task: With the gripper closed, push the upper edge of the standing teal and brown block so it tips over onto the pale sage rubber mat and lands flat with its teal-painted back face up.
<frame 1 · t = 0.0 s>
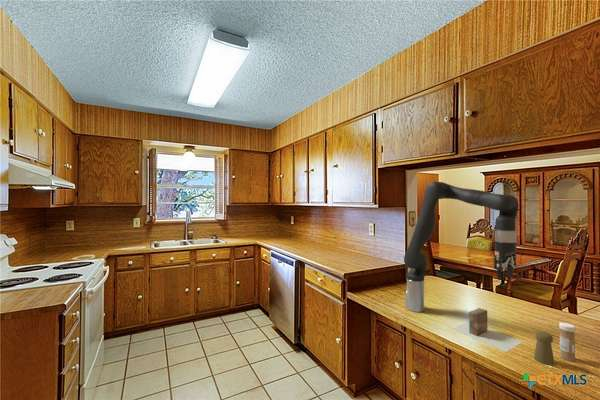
hand: (505, 277, 117), 29 cm above the worktop, tool pointing down, fingers open, 8 cm apart
sage mat: (485, 336, 125), on the worktop
teal and brown block: (478, 332, 127), resting on sage mat
sprinkles bottle: (567, 358, 107), on the worktop
cork: (544, 361, 105), on the worktop
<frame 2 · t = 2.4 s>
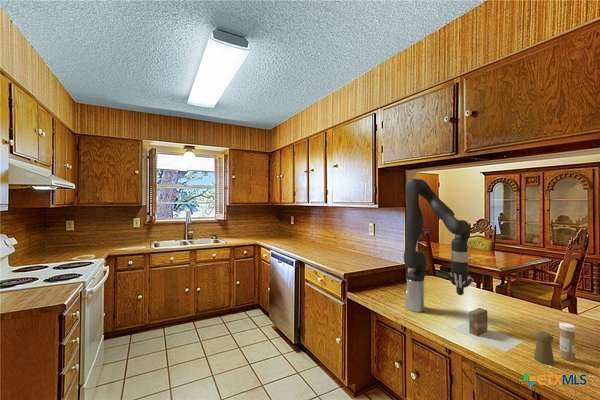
hand: (460, 294, 134), 16 cm above the worktop, tool pointing down, fingers closed
nothing on the worktop moved.
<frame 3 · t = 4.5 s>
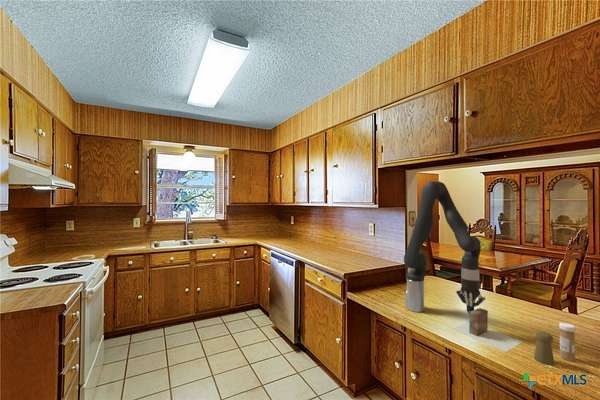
hand: (470, 313, 130), 8 cm above the worktop, tool pointing down, fingers closed
teal and brown block: (478, 332, 127), point 1 cm above the worktop, touching gripper, sage mat
everything else where it was.
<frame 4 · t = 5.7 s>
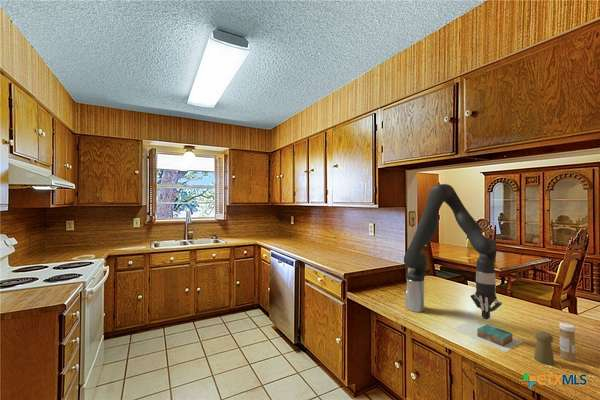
hand: (485, 318, 124), 8 cm above the worktop, tool pointing down, fingers closed
teal and brown block: (482, 330, 126), point 2 cm above the worktop, tilted 90°, touching sage mat
everything else where it was.
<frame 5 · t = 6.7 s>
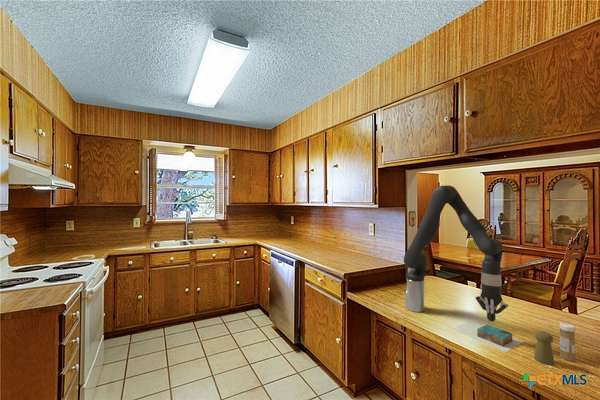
hand: (491, 320, 122), 8 cm above the worktop, tool pointing down, fingers closed
nothing on the worktop moved.
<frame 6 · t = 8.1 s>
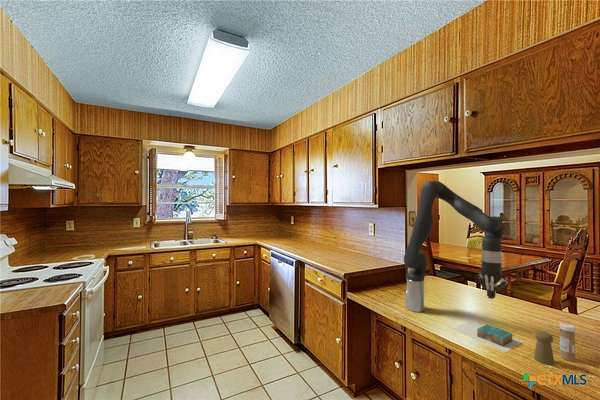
hand: (491, 298, 123), 18 cm above the worktop, tool pointing down, fingers closed
nothing on the worktop moved.
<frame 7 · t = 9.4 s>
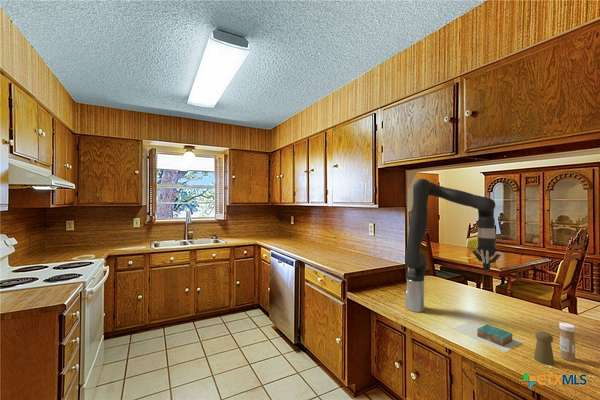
hand: (486, 270, 138), 27 cm above the worktop, tool pointing down, fingers closed
nothing on the worktop moved.
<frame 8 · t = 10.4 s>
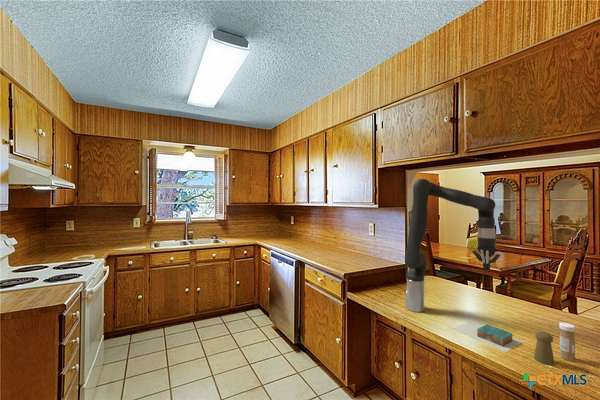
hand: (486, 270, 138), 27 cm above the worktop, tool pointing down, fingers closed
nothing on the worktop moved.
at the end: teal and brown block tilted 90°; teal and brown block inside the target area (1.2 cm from its centre), point 2.2 cm above the worktop; the gripper is holding nothing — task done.
